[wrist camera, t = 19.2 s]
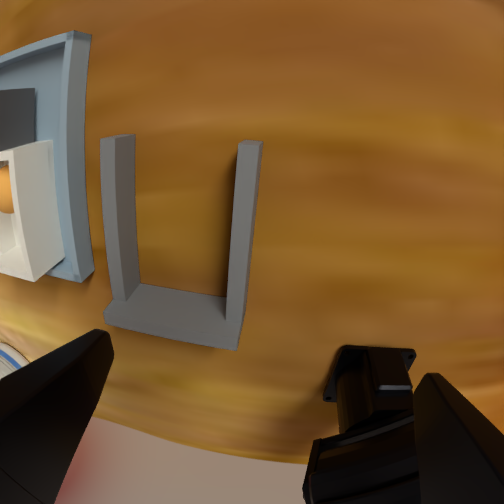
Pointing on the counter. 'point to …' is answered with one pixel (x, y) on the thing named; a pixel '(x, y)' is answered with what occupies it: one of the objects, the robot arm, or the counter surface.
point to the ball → (5, 191)
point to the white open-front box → (27, 192)
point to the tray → (60, 132)
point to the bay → (165, 299)
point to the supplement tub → (10, 360)
